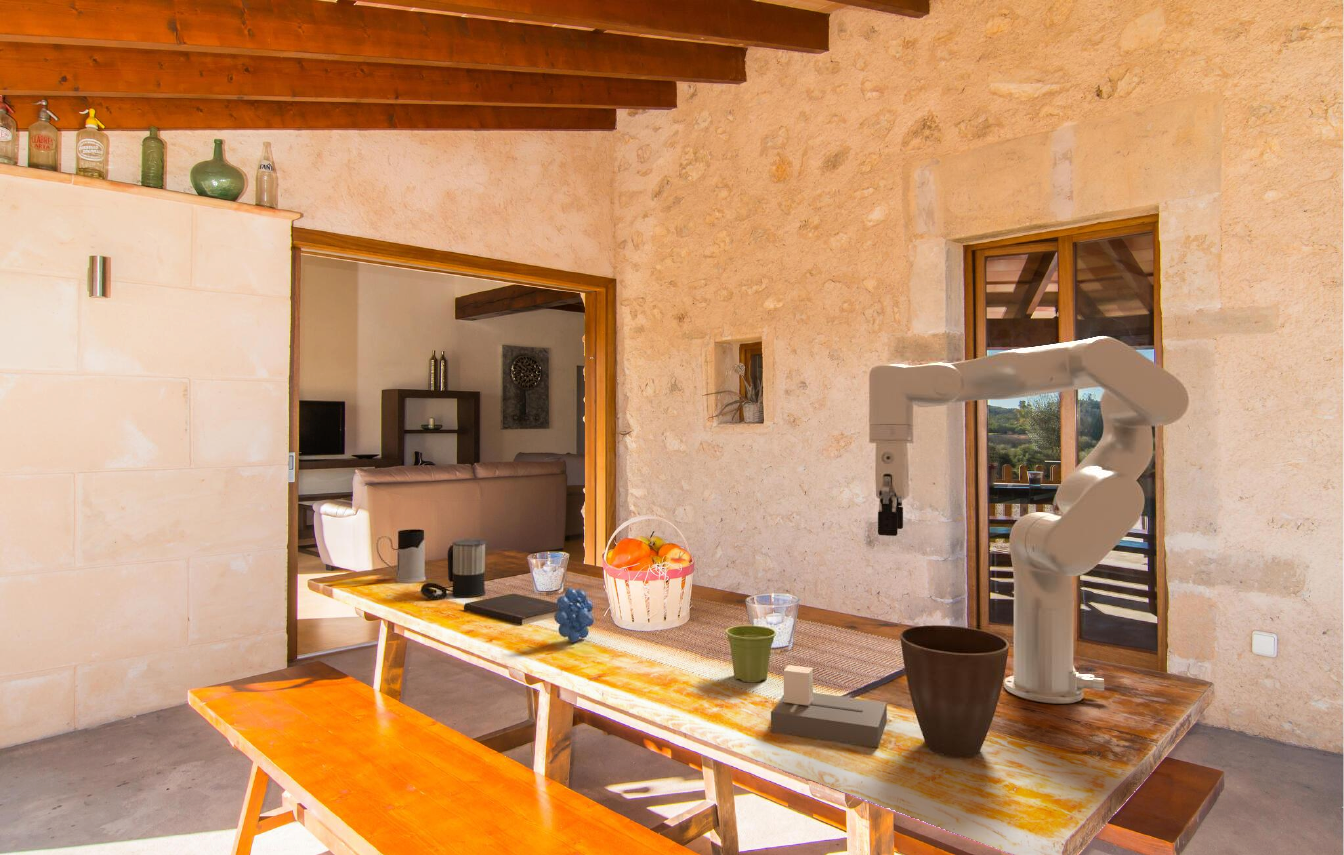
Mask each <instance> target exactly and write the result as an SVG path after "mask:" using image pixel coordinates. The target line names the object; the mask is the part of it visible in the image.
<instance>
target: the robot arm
mask: <svg viewBox="0 0 1344 855" xmlns="http://www.w3.org/2000/svg"><path fill="white" fill-rule="evenodd" d="M868 375H869V376H868V378H869V379H868V390H869V391H868V399H869V400H868V424H869V425H868V443H869V444H875V455H874V458H875V461H874V462H875V465H874V469H875V470H874V471H875V476H874V477H875V480H874V482H875V496H876V499H878V500H879V501H878V502H879V503H878V511H877V534H878V535H879V536H887V537H888V536H891V537H896V536H898V532H899V531H898V530H902V529H903V528H904V507H903V501H904V500H906V499H908V497H909V496H910V487H909V486H910V484H909V482H910V481H909V479H910V478H909V473H910V472H909V471H910V470H909V449H908V444H914V406H916V407H919V408H930V407H943V406H947V405H949V404H955V403H963V402H971V401H973V402H974V401H983V400H994V401H995V400H996V401H997V400H1010V399H1011V400H1012V399H1018V398H1019V399H1020V398H1026V397H1032V396H1033V397H1034V396H1039V395H1040V396H1041V395H1048V394H1055V393H1062V392H1063V393H1064V392H1068V391H1077V390H1084V389H1089V388H1090V389H1091V388H1092V389H1093V388H1101V389H1102V390H1104V391H1103V393H1102V395H1101V397H1100V403H1099V404H1100V412H1101V417H1102V421H1103V422H1102V423H1103V431H1102V436H1101V438H1100V439H1099V441H1098V442H1097V444H1096V445H1095V446H1094V447H1093V449H1092V450H1091V451H1090V453H1089V454H1088V455H1087V456H1085V458H1083V459H1082V461H1080V463H1079V464H1077V466H1076V467H1075V468H1074V469H1073V470H1072V471H1071V472H1070V473H1069V474H1068V475H1067V476H1066V477H1065V478H1064V479H1063V480H1062V482H1061V483H1060V484H1059V485H1058V488H1057V490H1056V493H1055V502H1056V505H1057V508H1058V509H1059V510H1060V511H1061V512H1062V513H1063V514H1062V515H1057V514H1053V513H1049V512H1043V511H1042V512H1039V511H1037V512H1030V513H1027V514H1025V515H1022V516H1021V517H1020V518H1018V519H1017V520H1016V521H1015V522H1014V524H1013V526H1012V528H1011V530H1010V533H1009V541H1008V542H1009V543H1008V544H1009V553H1010V558H1011V559H1010V560H1011V565H1012V573H1013V675H1010V676H1007V677H1006V678H1004V680H1003V686H1004V688H1005V690H1006V691H1007V692H1009V693H1010V694H1012V695H1015V697H1019V698H1022V699H1025V700H1030V701H1034V702H1037V703H1039V702H1040V703H1046V704H1055V705H1056V704H1059V705H1060V704H1061V705H1062V704H1063V705H1065V704H1074V703H1077V702H1079V701H1081V700H1082V699H1083V698H1084V688H1085V689H1091V690H1097V691H1105V680H1104V678H1099V677H1095V675H1093V674H1083V673H1082V674H1081V673H1080V674H1079V672H1077V670H1076V668H1075V666H1074V665H1075V664H1074V607H1075V602H1074V600H1075V599H1074V598H1075V597H1074V596H1075V593H1074V585H1073V584H1074V583H1073V578H1072V577H1078V576H1081V575H1084V574H1086V573H1088V572H1090V571H1091V570H1093V569H1094V568H1095V567H1096V566H1098V564H1099V563H1100V562H1101V561H1103V559H1105V557H1107V555H1108V554H1109V553H1111V551H1112V550H1114V548H1115V547H1116V546H1117V545H1118V544H1119V543H1120V542H1121V541H1122V540H1123V539H1124V538H1125V536H1127V534H1128V533H1129V532H1131V531H1132V529H1133V528H1134V527H1135V526H1136V524H1137V523H1138V522H1139V520H1140V518H1141V516H1142V514H1143V512H1144V508H1145V494H1144V491H1143V488H1142V486H1141V485H1140V484H1139V482H1138V481H1137V480H1138V479H1139V478H1140V476H1141V475H1142V474H1143V473H1144V471H1145V470H1146V469H1147V468H1148V466H1149V464H1150V463H1151V460H1152V457H1153V455H1154V454H1153V453H1154V438H1153V429H1152V427H1163V426H1168V425H1171V424H1173V423H1175V422H1176V423H1177V421H1178V420H1180V419H1181V418H1182V417H1183V416H1184V415H1185V414H1186V412H1187V410H1188V407H1189V402H1190V400H1189V393H1188V391H1187V389H1186V387H1185V386H1184V384H1183V383H1182V382H1181V381H1180V380H1179V378H1177V377H1176V376H1175V375H1173V374H1172V373H1171V372H1169V371H1167V370H1166V369H1164V368H1163V367H1162V366H1160V365H1158V364H1157V363H1156V362H1154V361H1152V360H1151V359H1150V358H1147V356H1145V355H1143V354H1142V353H1141V352H1139V351H1138V350H1136V349H1134V348H1133V347H1132V346H1129V345H1128V344H1126V343H1124V342H1123V341H1121V340H1119V339H1116V338H1115V337H1111V336H1106V335H1105V336H1104V335H1102V336H1096V337H1092V338H1091V337H1090V338H1087V339H1082V340H1076V341H1068V342H1062V343H1055V344H1048V345H1041V346H1034V347H1026V348H1018V349H1017V348H1015V349H1011V350H1010V349H1009V350H1006V351H1000V352H996V353H993V354H990V355H989V354H988V355H987V356H982V357H979V358H974V359H969V360H963V361H958V362H957V361H956V362H950V363H944V362H934V363H928V364H920V365H919V364H918V365H906V364H881V365H875V366H873V367H872V368H871V369H870V371H869V374H868Z"/></svg>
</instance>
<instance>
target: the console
mask: <svg viewBox="0 0 1344 855" xmlns="http://www.w3.org/2000/svg"><path fill="white" fill-rule="evenodd" d="M887 708H888V703H887V702H886V701H878V700H873V699H872V700H870V699H864V698H856V697H848V696H841V695H835V694H834V695H832V694H825V693H817V692H813V700H812V702H811V703H810V705H809V706H808V705H800V704H793V703H786V702H784V694H783V695H782V696H781V698H780V699H779V700H778V702H777V703H776V704H775V706H774V707H773V708H772V710H771V711H770V732H772V733H779V734H785V735H793V736H798V737H806V738H812V739H818V740H825V741H831V742H839V743H844V744H850V745H851V744H852V745H858V746H865V747H869V748H870V747H871V748H877V749H878V748H879V746H880V743H881V740H882V737H883V734H884V731H885V729H886V728H885V727H886V725H887V722H888V721H887V720H888V719H887V718H888V716H887V715H888V712H887V711H888V709H887Z"/></svg>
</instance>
